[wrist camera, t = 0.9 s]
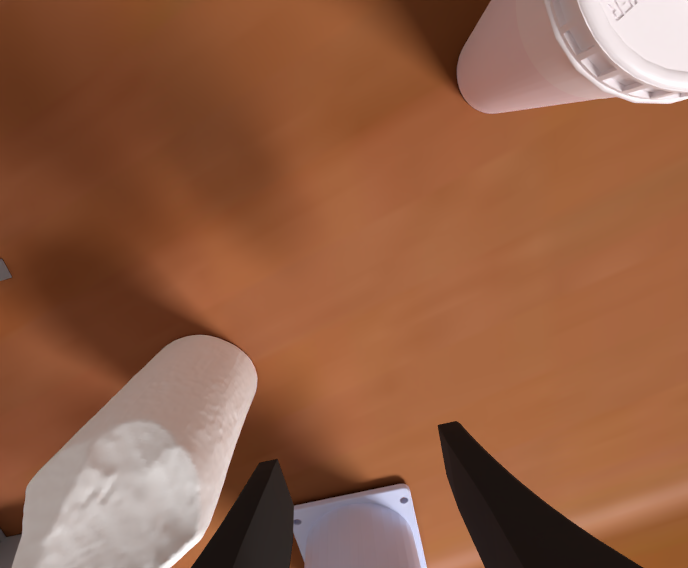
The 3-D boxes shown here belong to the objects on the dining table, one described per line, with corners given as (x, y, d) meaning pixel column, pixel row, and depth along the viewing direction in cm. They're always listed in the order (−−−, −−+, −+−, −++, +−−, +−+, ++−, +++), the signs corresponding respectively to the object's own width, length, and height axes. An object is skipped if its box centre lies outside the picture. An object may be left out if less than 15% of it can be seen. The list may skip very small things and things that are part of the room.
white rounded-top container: (164, 594, 8) (146, 740, 9) (265, 345, 19) (250, 428, 21) (-137, 559, 7) (-103, 721, 8) (155, 324, 18) (147, 410, 20)
